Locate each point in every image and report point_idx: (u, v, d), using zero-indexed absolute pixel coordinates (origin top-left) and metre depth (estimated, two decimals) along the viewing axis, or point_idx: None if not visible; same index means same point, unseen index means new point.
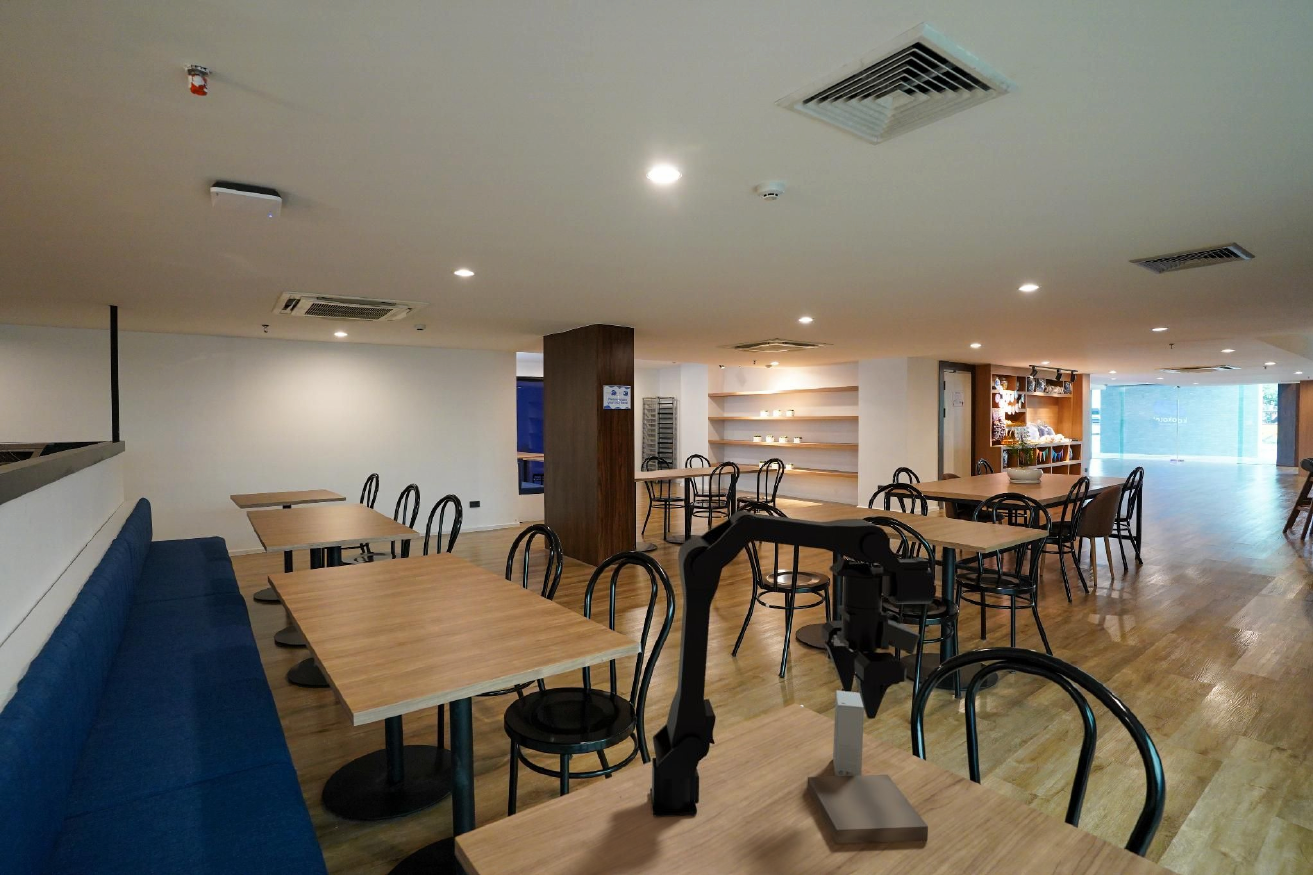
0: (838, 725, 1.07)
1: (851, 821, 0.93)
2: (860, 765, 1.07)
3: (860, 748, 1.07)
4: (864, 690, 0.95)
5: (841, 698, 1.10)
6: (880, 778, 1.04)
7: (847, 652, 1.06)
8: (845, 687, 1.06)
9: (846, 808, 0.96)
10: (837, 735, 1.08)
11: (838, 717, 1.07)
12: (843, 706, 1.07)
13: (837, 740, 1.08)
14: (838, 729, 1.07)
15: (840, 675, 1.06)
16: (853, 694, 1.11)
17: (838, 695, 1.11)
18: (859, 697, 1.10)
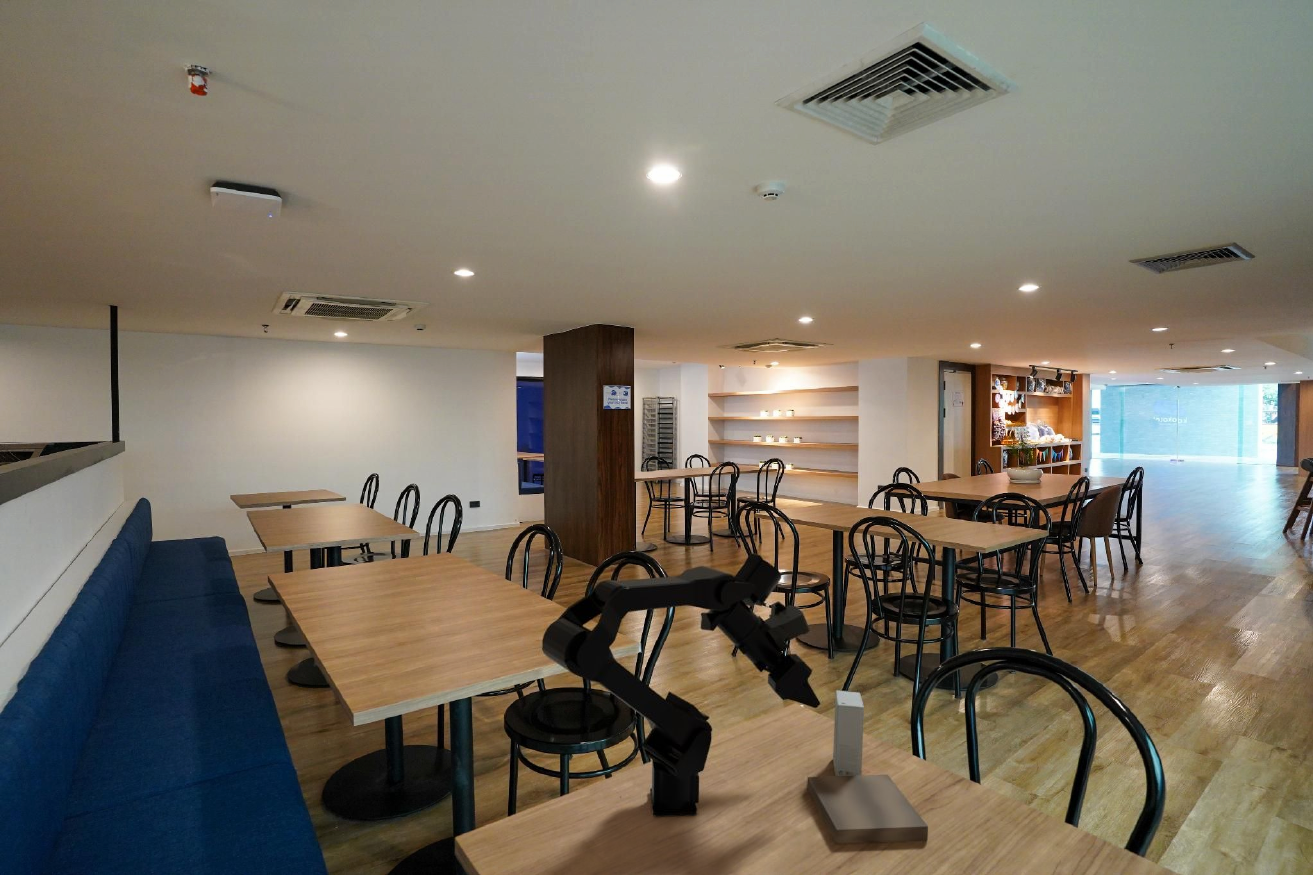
0: (838, 725, 1.07)
1: (851, 821, 0.93)
2: (860, 765, 1.07)
3: (860, 748, 1.07)
4: (793, 697, 1.01)
5: (841, 698, 1.10)
6: (880, 778, 1.04)
7: None
8: None
9: (846, 808, 0.96)
10: (837, 735, 1.08)
11: (838, 717, 1.07)
12: (843, 706, 1.07)
13: (837, 740, 1.08)
14: (838, 729, 1.07)
15: None
16: (853, 694, 1.11)
17: (838, 695, 1.11)
18: (859, 697, 1.10)
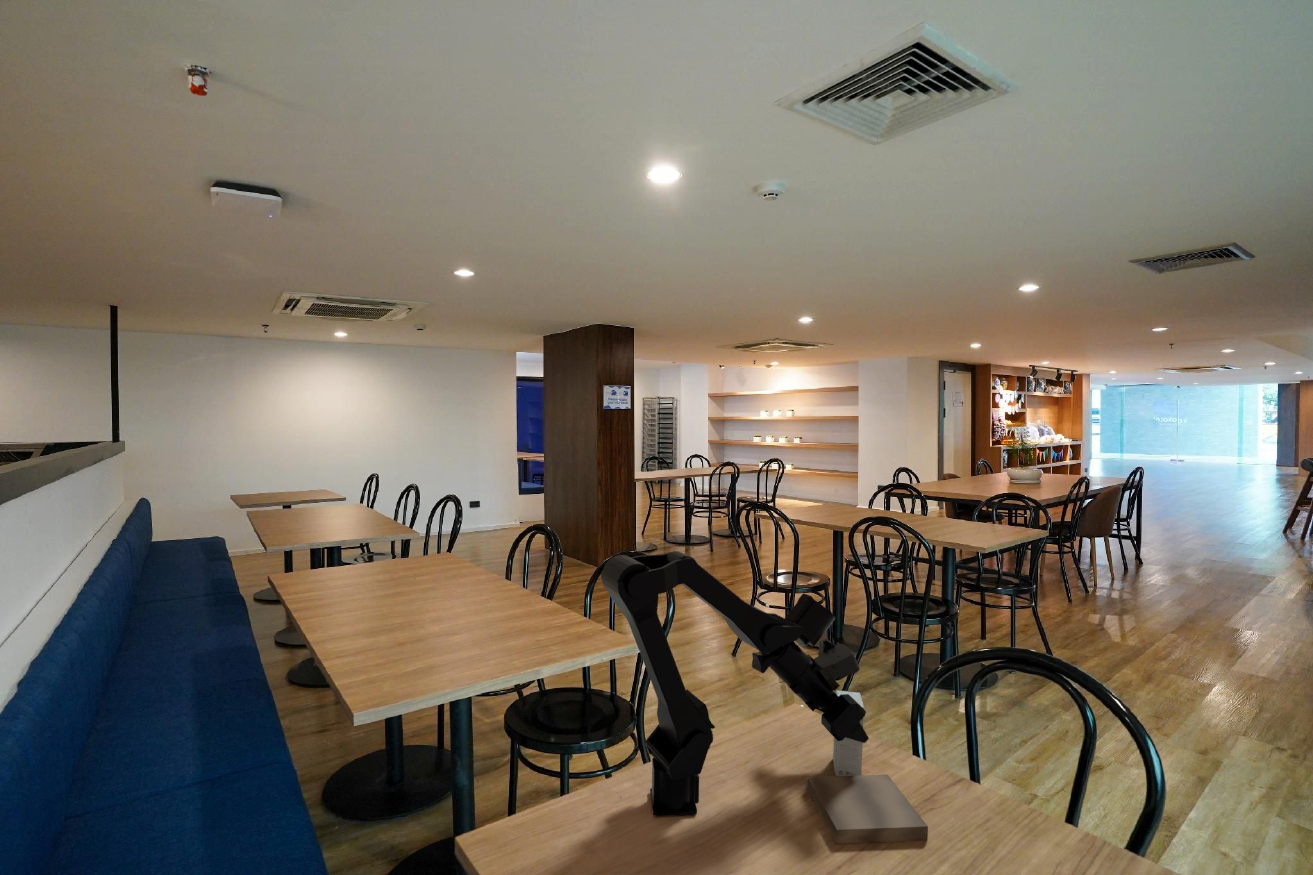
0: None
1: (851, 821, 0.93)
2: (860, 765, 1.07)
3: (860, 748, 1.07)
4: None
5: None
6: (880, 778, 1.04)
7: None
8: None
9: (846, 808, 0.96)
10: None
11: None
12: None
13: None
14: None
15: None
16: (853, 694, 1.11)
17: (838, 695, 1.11)
18: (859, 697, 1.10)
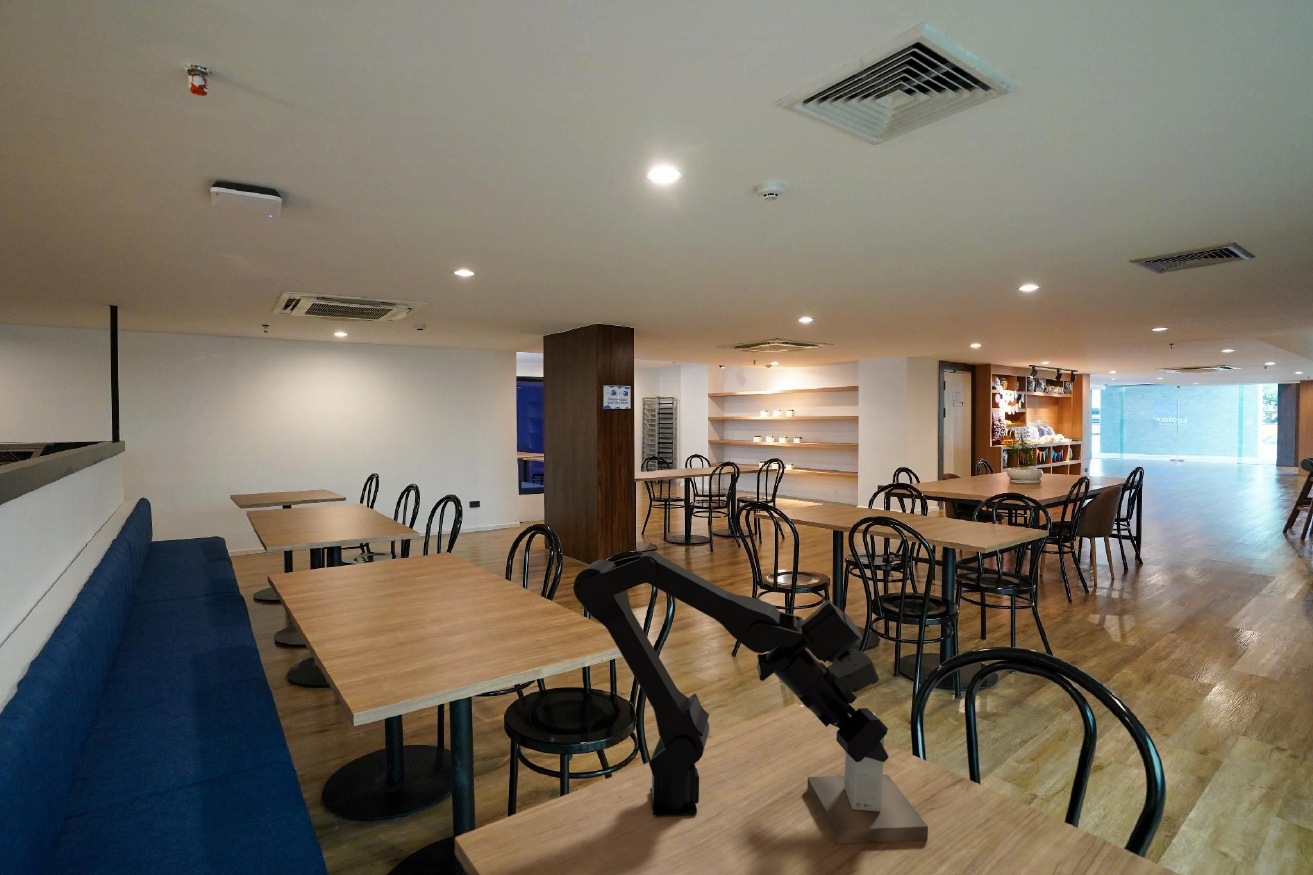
0: None
1: (851, 821, 0.93)
2: (880, 796, 0.95)
3: (880, 777, 0.95)
4: None
5: None
6: None
7: None
8: None
9: (846, 808, 0.96)
10: (854, 763, 0.95)
11: None
12: None
13: (854, 769, 0.95)
14: None
15: None
16: None
17: None
18: None
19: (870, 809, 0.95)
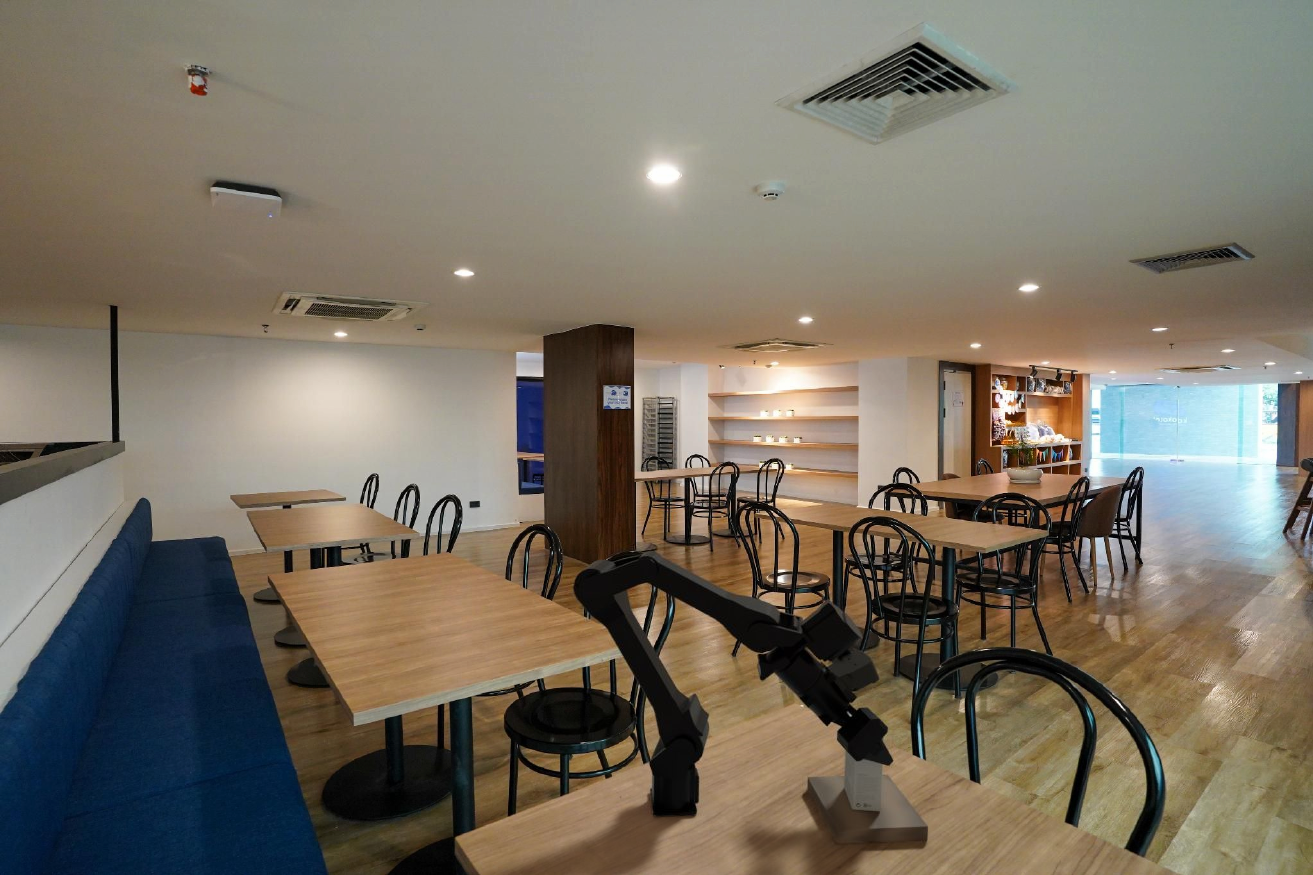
0: None
1: (851, 821, 0.93)
2: (879, 795, 0.95)
3: (879, 776, 0.95)
4: (865, 756, 0.91)
5: None
6: None
7: None
8: None
9: (846, 808, 0.96)
10: (854, 763, 0.95)
11: None
12: None
13: (854, 769, 0.95)
14: None
15: None
16: None
17: None
18: None
19: (870, 809, 0.95)
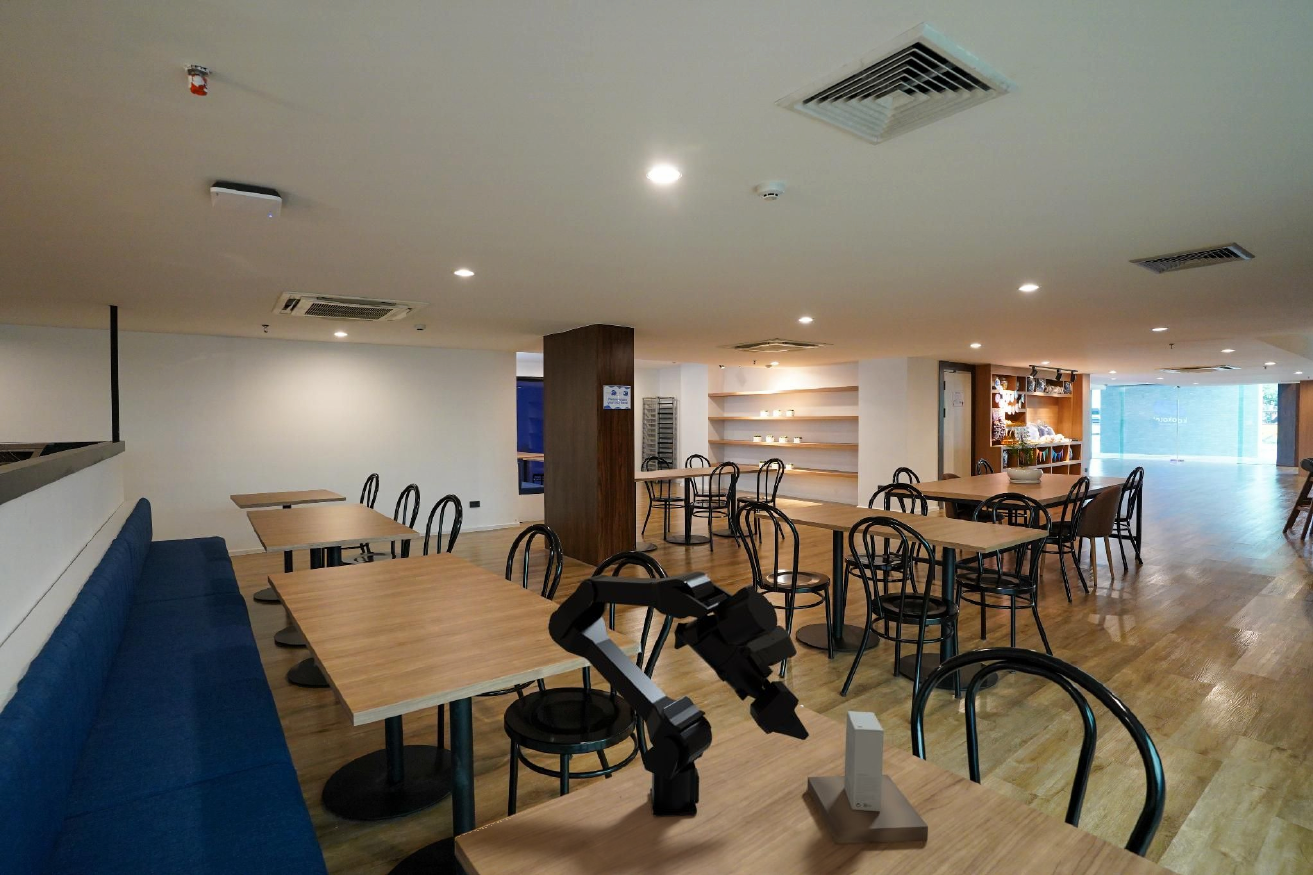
0: (855, 752, 0.95)
1: (851, 821, 0.93)
2: (879, 795, 0.95)
3: (879, 776, 0.95)
4: (778, 730, 0.91)
5: (855, 720, 0.98)
6: None
7: None
8: None
9: (846, 808, 0.96)
10: (854, 763, 0.95)
11: (855, 743, 0.95)
12: (861, 730, 0.95)
13: (854, 769, 0.95)
14: (855, 756, 0.95)
15: None
16: (867, 715, 0.99)
17: (851, 717, 0.99)
18: (875, 718, 0.99)
19: (870, 809, 0.95)
